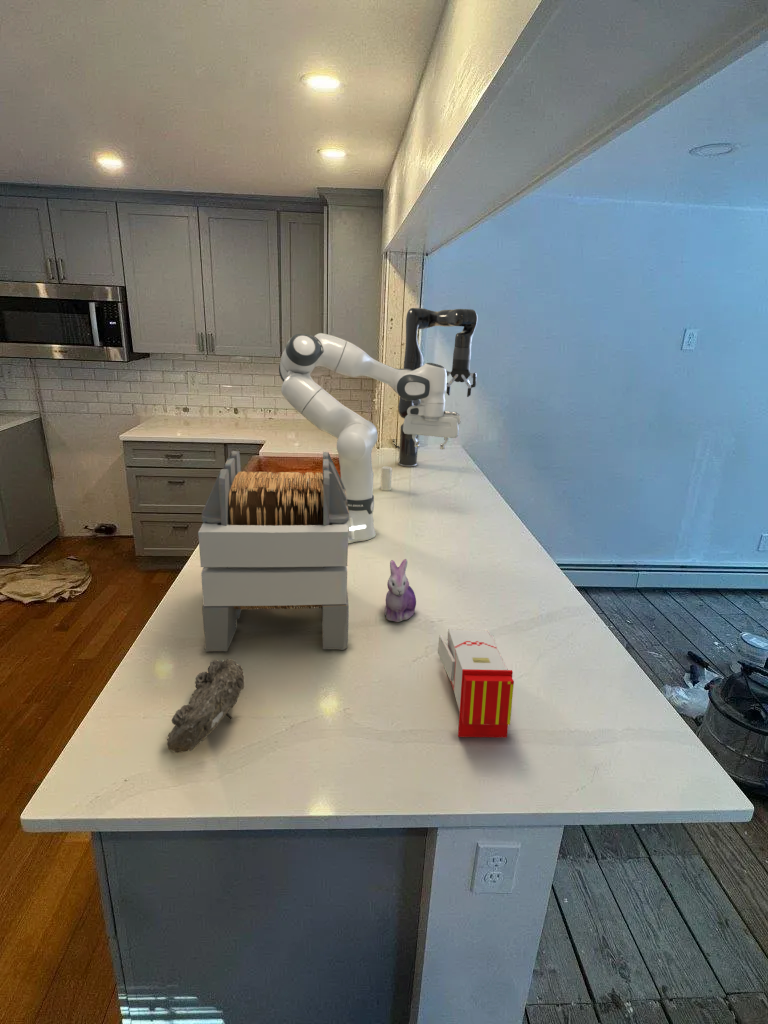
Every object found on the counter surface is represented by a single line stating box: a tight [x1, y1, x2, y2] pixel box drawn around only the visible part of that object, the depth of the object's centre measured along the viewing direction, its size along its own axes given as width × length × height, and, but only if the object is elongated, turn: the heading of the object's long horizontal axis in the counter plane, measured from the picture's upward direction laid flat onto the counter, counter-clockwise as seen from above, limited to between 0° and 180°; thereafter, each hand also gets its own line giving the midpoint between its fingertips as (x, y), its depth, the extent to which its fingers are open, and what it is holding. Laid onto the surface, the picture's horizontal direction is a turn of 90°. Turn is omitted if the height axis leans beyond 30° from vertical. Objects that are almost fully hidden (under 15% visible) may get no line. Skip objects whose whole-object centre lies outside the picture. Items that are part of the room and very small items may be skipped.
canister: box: [380, 465, 393, 492], centre depth 247 cm, size 5×5×10 cm
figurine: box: [384, 558, 417, 623], centre depth 145 cm, size 9×10×15 cm
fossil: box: [166, 658, 245, 754], centre depth 106 cm, size 22×10×15 cm
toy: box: [437, 628, 515, 738], centre depth 117 cm, size 12×13×30 cm
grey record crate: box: [197, 450, 350, 653], centre depth 138 cm, size 34×33×41 cm
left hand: (429, 447), depth 207 cm, fingers open, 8 cm apart
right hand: (458, 395), depth 250 cm, fingers open, 8 cm apart
